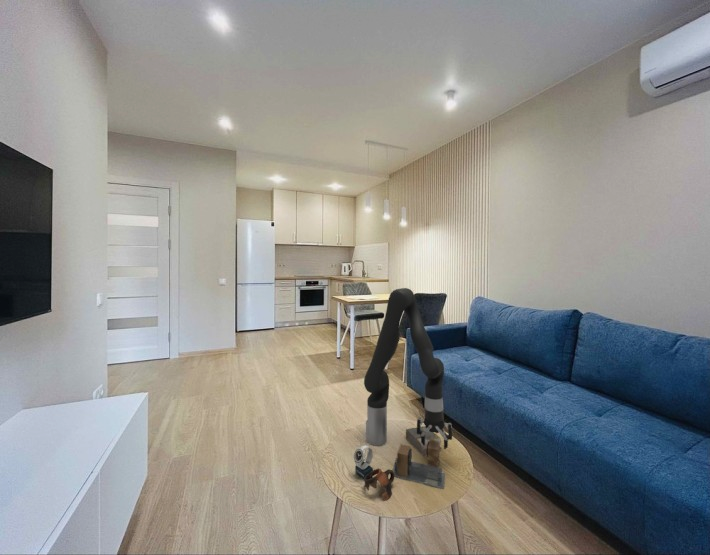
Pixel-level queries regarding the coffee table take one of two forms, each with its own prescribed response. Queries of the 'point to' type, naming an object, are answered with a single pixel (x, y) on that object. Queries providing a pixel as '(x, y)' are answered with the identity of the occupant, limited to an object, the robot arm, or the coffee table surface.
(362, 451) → the watch
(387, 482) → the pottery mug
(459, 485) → the coffee table surface
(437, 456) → the brown wooden block
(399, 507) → the coffee table surface
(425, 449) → the geological specimen
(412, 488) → the coffee table surface
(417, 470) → the grey and brown stand
